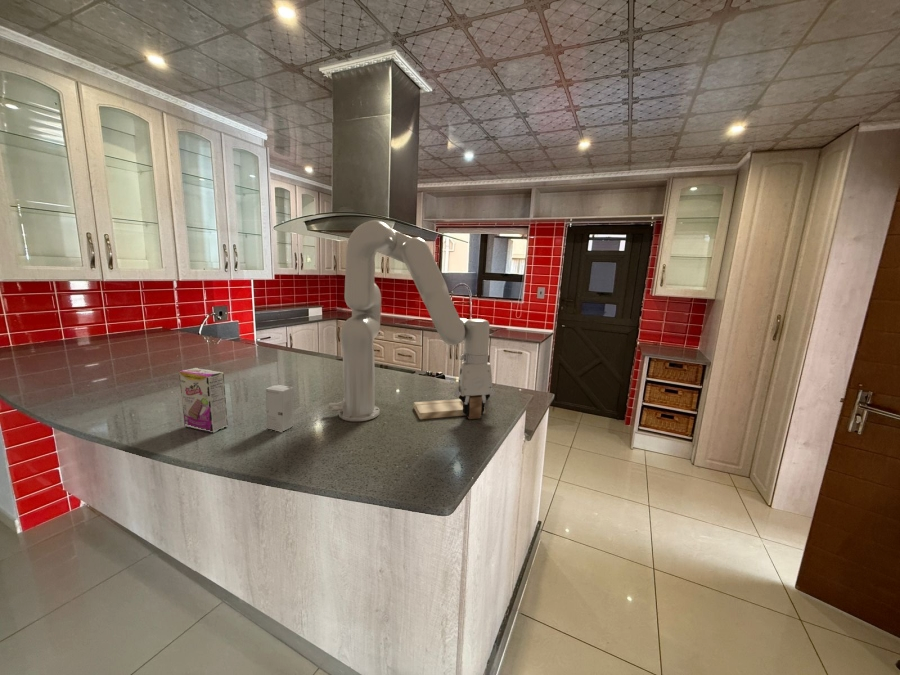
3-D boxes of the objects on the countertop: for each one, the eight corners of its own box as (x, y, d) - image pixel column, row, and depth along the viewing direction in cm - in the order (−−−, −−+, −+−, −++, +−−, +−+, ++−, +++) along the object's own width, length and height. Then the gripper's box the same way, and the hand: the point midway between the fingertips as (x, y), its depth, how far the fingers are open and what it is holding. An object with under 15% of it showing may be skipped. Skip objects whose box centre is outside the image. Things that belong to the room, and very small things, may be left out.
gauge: (469, 419, 108) (470, 395, 107) (457, 405, 120) (458, 384, 119) (481, 418, 110) (482, 395, 108) (468, 404, 121) (469, 383, 120)
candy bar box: (183, 427, 97) (177, 371, 94) (200, 421, 101) (196, 367, 99) (211, 434, 93) (206, 375, 91) (229, 427, 98) (224, 371, 95)
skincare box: (265, 429, 97) (263, 388, 95) (278, 423, 101) (275, 384, 99) (283, 433, 95) (281, 391, 93) (295, 427, 100) (293, 386, 98)
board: (419, 419, 108) (419, 412, 108) (413, 407, 117) (413, 402, 117) (485, 413, 114) (485, 407, 114) (474, 403, 124) (474, 397, 123)
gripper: (453, 362, 102) (451, 421, 105) (505, 360, 106) (502, 416, 109) (446, 356, 109) (445, 412, 112) (495, 355, 114) (492, 408, 116)
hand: (473, 413), depth 110 cm, fingers closed on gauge, 4 cm apart
